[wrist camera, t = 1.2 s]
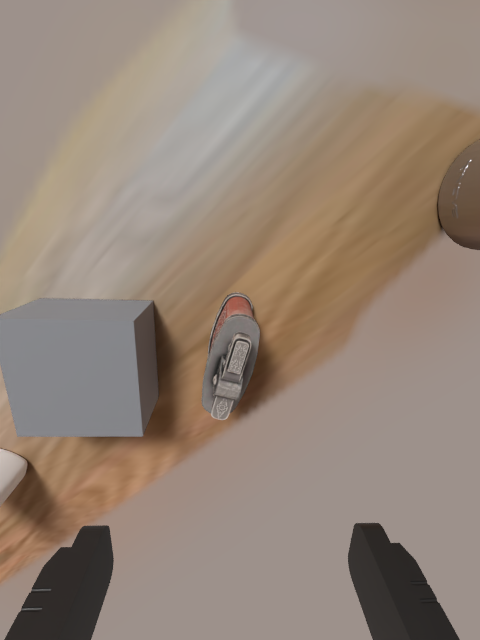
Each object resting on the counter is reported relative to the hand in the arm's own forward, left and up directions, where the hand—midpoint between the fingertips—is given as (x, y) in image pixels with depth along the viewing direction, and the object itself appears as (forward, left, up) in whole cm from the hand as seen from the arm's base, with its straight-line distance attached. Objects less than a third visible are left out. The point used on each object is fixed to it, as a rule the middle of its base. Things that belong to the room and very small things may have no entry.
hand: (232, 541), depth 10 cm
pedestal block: (+12, +2, -20) cm, 23 cm away
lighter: (0, 0, -20) cm, 20 cm away
